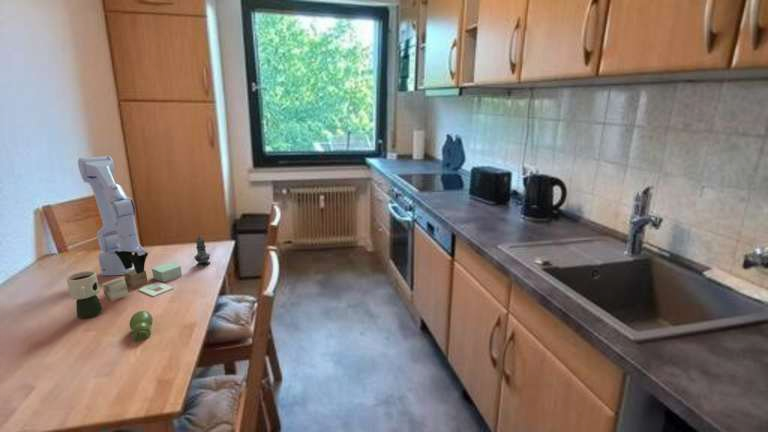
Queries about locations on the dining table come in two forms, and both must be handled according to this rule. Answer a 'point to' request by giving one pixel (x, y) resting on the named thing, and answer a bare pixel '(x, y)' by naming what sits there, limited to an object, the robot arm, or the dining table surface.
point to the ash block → (115, 289)
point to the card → (155, 289)
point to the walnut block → (135, 278)
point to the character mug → (85, 293)
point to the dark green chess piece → (201, 253)
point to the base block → (166, 271)
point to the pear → (141, 325)
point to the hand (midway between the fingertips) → (134, 270)
